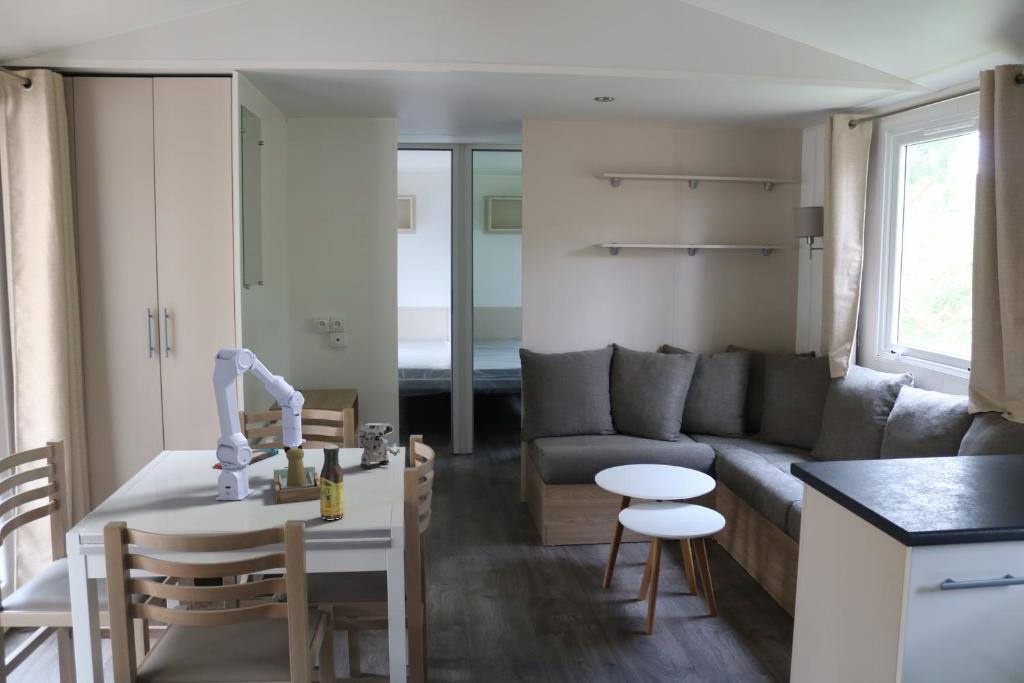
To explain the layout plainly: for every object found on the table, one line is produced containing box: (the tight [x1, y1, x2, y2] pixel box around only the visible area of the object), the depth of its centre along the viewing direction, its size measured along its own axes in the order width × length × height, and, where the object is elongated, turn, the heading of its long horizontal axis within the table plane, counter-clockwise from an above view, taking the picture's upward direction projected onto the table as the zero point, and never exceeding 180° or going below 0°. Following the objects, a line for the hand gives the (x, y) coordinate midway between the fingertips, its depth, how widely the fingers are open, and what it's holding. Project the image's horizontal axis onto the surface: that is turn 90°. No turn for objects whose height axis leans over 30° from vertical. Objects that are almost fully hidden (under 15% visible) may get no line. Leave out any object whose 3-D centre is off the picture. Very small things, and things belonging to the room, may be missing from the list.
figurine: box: [359, 422, 401, 470], centre depth 265 cm, size 9×12×15 cm
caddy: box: [273, 472, 320, 504], centre depth 237 cm, size 17×13×4 cm
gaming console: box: [214, 448, 280, 469], centre depth 276 cm, size 24×2×10 cm
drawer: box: [273, 464, 316, 490], centre depth 244 cm, size 19×13×3 cm, turn 19°
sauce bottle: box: [319, 444, 345, 519], centre depth 213 cm, size 6×6×20 cm
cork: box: [285, 448, 307, 487], centre depth 238 cm, size 6×6×11 cm
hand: (293, 468), depth 253 cm, fingers closed
